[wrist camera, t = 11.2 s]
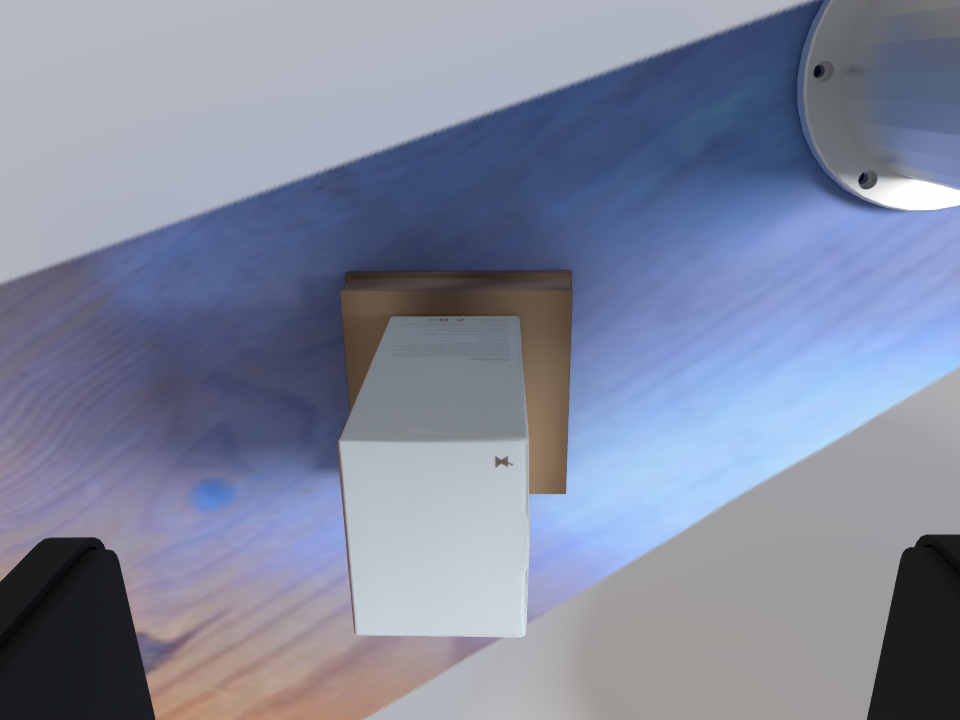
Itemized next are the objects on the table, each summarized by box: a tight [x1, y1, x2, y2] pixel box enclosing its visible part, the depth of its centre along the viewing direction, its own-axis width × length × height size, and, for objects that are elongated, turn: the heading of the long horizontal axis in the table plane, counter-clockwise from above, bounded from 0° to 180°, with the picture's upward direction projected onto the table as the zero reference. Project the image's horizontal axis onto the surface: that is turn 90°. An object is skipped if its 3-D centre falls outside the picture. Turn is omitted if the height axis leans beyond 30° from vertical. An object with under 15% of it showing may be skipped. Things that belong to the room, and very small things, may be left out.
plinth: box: [340, 270, 573, 494], centre depth 39 cm, size 11×11×3 cm
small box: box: [337, 316, 530, 638], centre depth 31 cm, size 8×6×13 cm
